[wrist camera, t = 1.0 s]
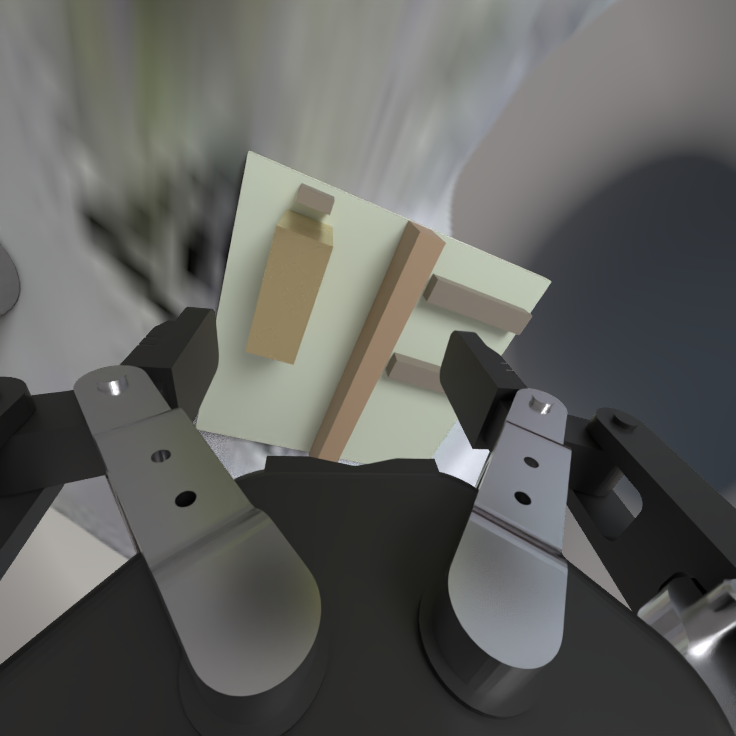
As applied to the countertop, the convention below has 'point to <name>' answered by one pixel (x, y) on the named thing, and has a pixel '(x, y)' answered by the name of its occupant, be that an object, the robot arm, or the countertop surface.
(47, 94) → the countertop surface
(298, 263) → the bar
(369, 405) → the door board
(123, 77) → the countertop surface
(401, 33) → the countertop surface
